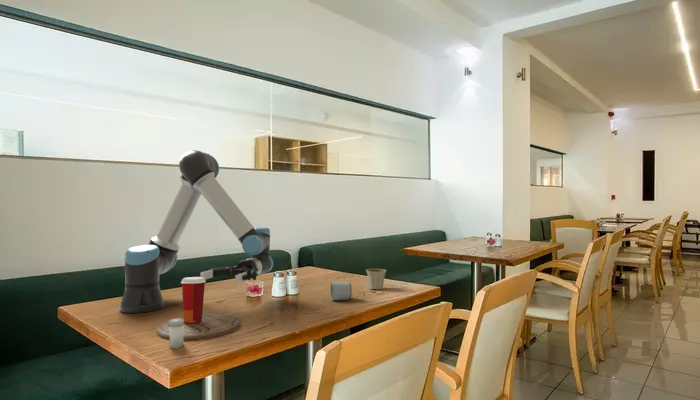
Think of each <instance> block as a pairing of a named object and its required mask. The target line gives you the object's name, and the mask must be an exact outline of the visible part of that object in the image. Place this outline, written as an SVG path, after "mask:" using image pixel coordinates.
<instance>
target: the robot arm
mask: <svg viewBox="0 0 700 400" xmlns="http://www.w3.org/2000/svg"><path fill="white" fill-rule="evenodd" d="M178 166H179V170H180V173H181V175H180V181H181V185H180V186H179V189H178V190H177V193H176V195H175V197H174V199H173V201H172V203H171V205H170V208H169V210H168V212H167V214H166V216H165V218H164V220H163V221H162V224H161V226H160V229H159V231H158V233H157V235H156V236H153V237H151V238H150V240H149V243H148V244H141V245H136V246H132V247H128V249H126V251H125V254H124V255H125V256H124V279H125V280H124V283H125V285H124V292H123V295H122V299H121V301H120V304H119V311H120V312H121V313H124V314H125V313H126V314H139V313H140V314H141V313H148V312H153V311H157V310H161V309H162V308H164V306H165V299H164V297H163V295H162V294H163V293H162V291H161V288H160V275H162V274H165V273H167V272H169V271H170V270H172V269H173V268H174V267H175V265H176V263H177V260H178V253H179V250H180V245H179V241H180V239H181V238H182V235H183V233H184V232H185V228H186V226H187V225H188V222H190V221H189V220H190V218H191V216H192V214H193V212H194V210H195V208H196V206H197V204H198V201H199V199H200V197H201V196H202V197H204V199H205V200H206V201H207V203H208V204H209V205H210V206H211V208H213V210H214V211H215V213H217V215H218V217H220V219H221V220H222V221H223V223H224V224H225V225H226V227H228V228H229V230H230V231H231V233H232V234H233V235H234V236H235V238H236V239H237V240H238V242H239V243H240V244H241V247H242V250H243V252H244V253H245V254H247V255H249V256H250V258H246V259H243V260H241V261H240V260H239V262H238V263H237V264H236V265H234V266H223V267H221V266H220V267H214V268H213V267H212V268H205V271H201V272H200V276H199V277H204V279H205V281H206V280H208V279H209V280H211V279H212V278H214V277H224V276H227V277H235V280H234V281H235V282H234V284H241V283H243V282H245V281H251V280H253V281H256V280H257V277H258V276H261V275H265V274H267V273H269V272H271V270H272V269H273V266H274V261H273V258H272V257H271V256H270V246H271V245H270V244H271V230H270V228H269V227H265V226H264V227H260V226H259V227H257V226H256V227H255V226H253V224H252V223H251V222H250V220H249V219H248V218H247V216H246V215H245V214H244V213H243V212H242V211H241V209H240V208H239V206H238V205H237V204H236V203H235V201H234V200H233V199H232V198H231V197H230V195H229V194H228V193H227V191H226V190H225V188H224V187H222V185H221V184H220V183H219V181H218V180H217V179H216V178H217V177H218V175H219V172H220V165H219V162H218V160H217V159H216V158H215V157H214V156H213V155H212V154H209V153H206V152H203V151H201V150H189V151H186V152H185V153H184V154H183V155H182V156H181V157H180V158H179V162H178Z"/></svg>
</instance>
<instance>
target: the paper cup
mask: <svg viewBox="0 0 700 400" xmlns="http://www.w3.org/2000/svg"><path fill="white" fill-rule="evenodd" d="M206 282H207V281H206V280H205V279H204V277H200V276H192V277H191V276H190V277H188V276H187V277H184V278H182V279H181V282H180V284H181V287H182V289H181V290H182V317H183V319H184V322H185V323H196V322H200V321H202V314H203V309H204V299H205V288H206V286H205V285H206Z"/></svg>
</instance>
